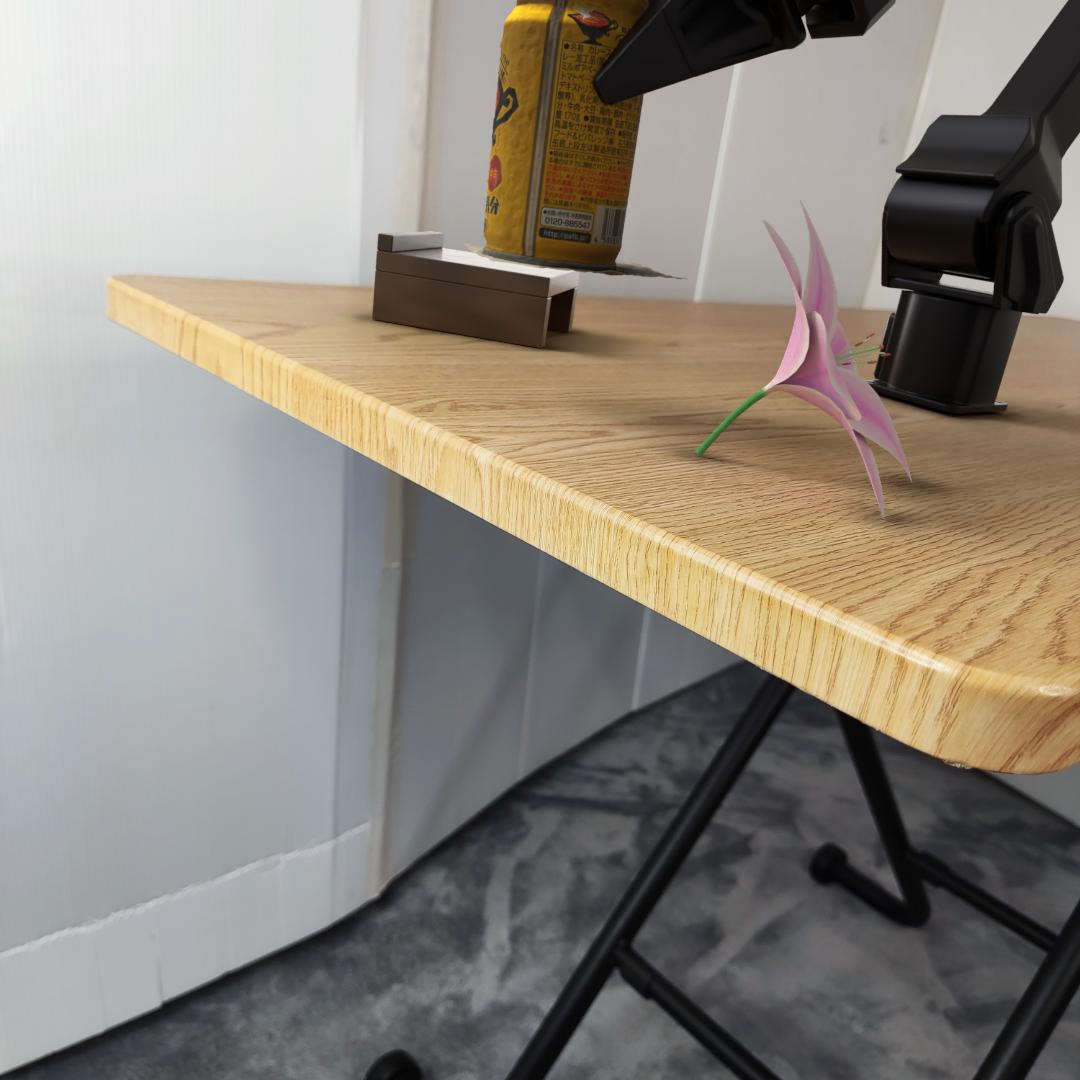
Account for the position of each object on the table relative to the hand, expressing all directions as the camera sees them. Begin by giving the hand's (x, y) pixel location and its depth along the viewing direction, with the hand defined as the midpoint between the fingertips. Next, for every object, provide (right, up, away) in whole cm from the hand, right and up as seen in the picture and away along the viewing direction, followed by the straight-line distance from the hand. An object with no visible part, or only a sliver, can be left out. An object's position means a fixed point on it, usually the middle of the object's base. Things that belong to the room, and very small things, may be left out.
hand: (555, 94), depth 39 cm
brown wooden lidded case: (-5, -4, +25) cm, 25 cm away
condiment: (+1, -6, +3) cm, 7 cm away
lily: (+9, -16, -2) cm, 19 cm away
